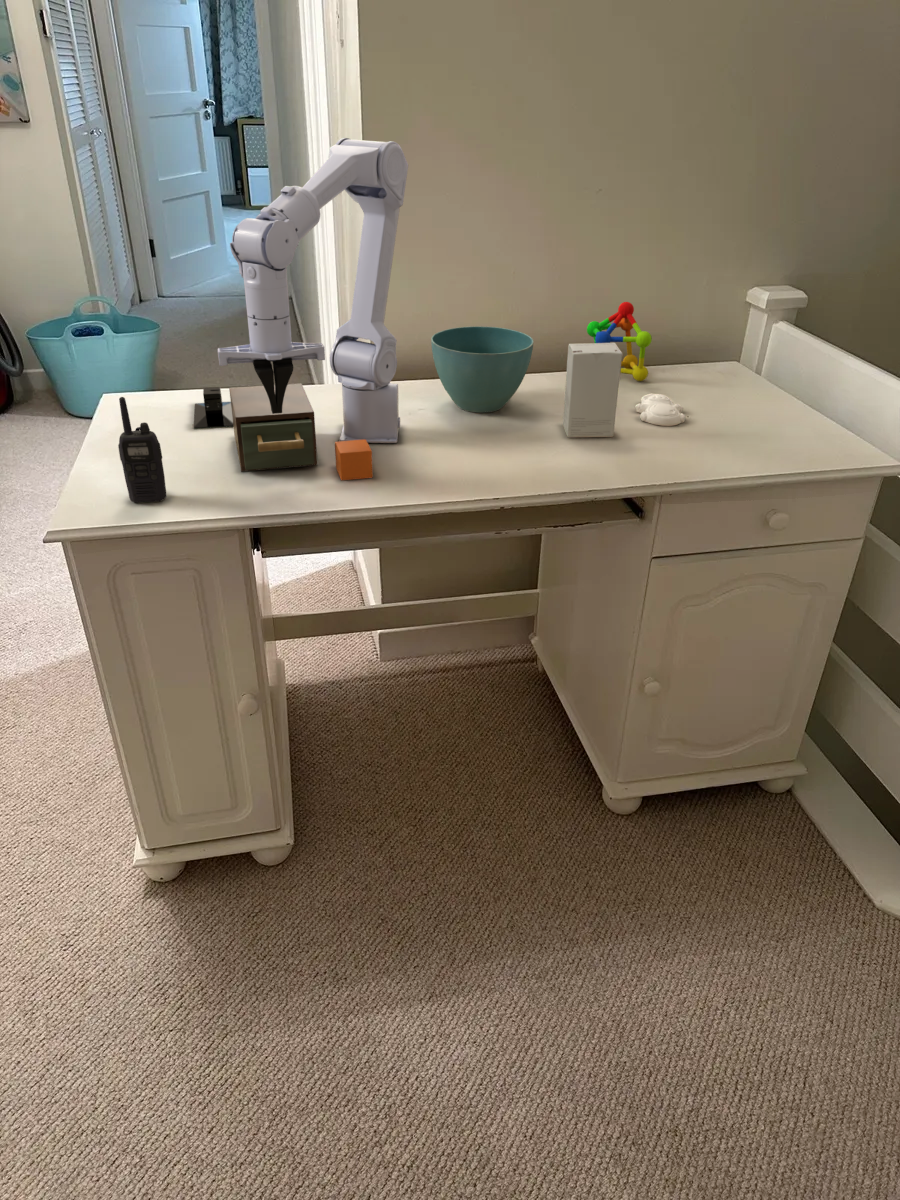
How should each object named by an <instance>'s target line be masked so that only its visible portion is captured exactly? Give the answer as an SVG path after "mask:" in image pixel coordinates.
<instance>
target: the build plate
mask: <svg viewBox="0 0 900 1200" xmlns="http://www.w3.org/2000/svg"><path fill="white" fill-rule="evenodd" d="M202 391H203V392H202V395H203V402H199V403H198V402H197V403H194V410H193V411H194V412H193V415H194V416H193V423H192V424H191V428H192V429H193V430H206V429H207V430H208V429H222V428H223V429H224V428H225V429H226V428H234V426H233V417H232V409H231V401H223V397H222V389H221V386H212V387H203V390H202Z"/></svg>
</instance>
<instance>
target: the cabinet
mask: <svg viewBox="0 0 900 1200" xmlns="http://www.w3.org/2000/svg"><path fill="white" fill-rule="evenodd" d="M228 389H229V390H228V391H229V400H230V402H231V409H232V417H233V426H234V427H233V433H234V442H235V446H236V451H237V457H238V461H239V467H240V471H241V473H242V472H252V471H263V470H264V471H266V470H276V469H287V468H300V467H311V466H318V453H317V452H318V451H317V437H316V436H317V435H316V422H315V421H316V420H315V410H314V408H313V407H312V404H311V401H310V399H309V397H308V395H307V393H306V390H305V388H304V386H303V383H302V382H301V383H288V385H287V387H286V391H285V395H284V400H283V407H282V413H277V414H272V411H271V405H270V401H269V397H268V395H267V392H266V390H265V388H264V386H263V385H255V386H252V385H251V386H240V387H239V386H238V387H229V388H228ZM274 391H275V384H274ZM292 418H305V420H308V419H311V421H312V428H313V444H314V461H315V464H311V465H299V466H287V467H276V468H264V469H252V470H246V469H245V462H244V453H243V443H242V434H241V424H242V422H251V421H265V420H278V419H292Z"/></svg>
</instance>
